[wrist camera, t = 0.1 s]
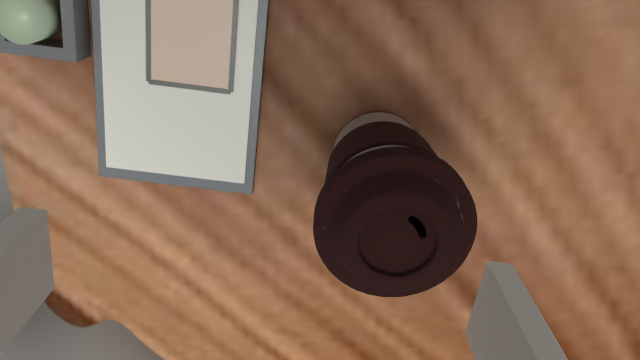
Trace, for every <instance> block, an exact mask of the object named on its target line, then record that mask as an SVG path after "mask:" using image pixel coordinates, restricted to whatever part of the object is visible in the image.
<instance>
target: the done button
mask: <svg viewBox="0 0 640 360" xmlns="http://www.w3.org/2000/svg"><path fill="white" fill-rule="evenodd" d="M61 29H62V22H61V8H60V2H59V0H0V34H1V35H2V36H3V37H4V38H6V39H7V40H9V41H11V42H13V43H16V44H20V45H28V44H32V43H35V42H38V41H41V40H44V39H47V38H50V37H53V36H55V35H57V34H58V33H59V32H60V31H61Z"/></svg>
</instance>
